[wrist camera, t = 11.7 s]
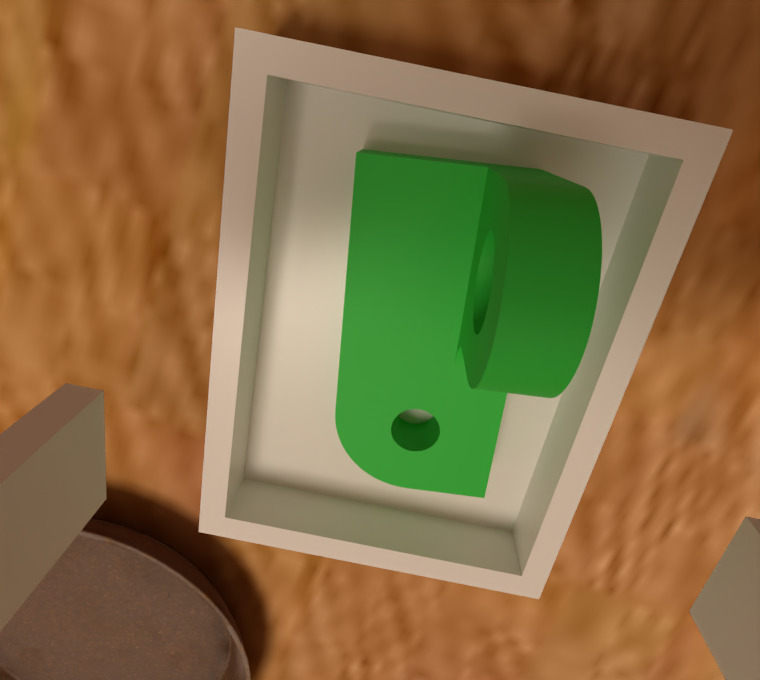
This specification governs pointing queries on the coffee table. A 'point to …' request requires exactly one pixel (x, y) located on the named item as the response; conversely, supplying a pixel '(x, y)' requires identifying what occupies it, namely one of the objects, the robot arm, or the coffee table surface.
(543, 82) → the coffee table surface
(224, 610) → the plant saucer
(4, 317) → the coffee table surface
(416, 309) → the mechanical part
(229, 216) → the tray
